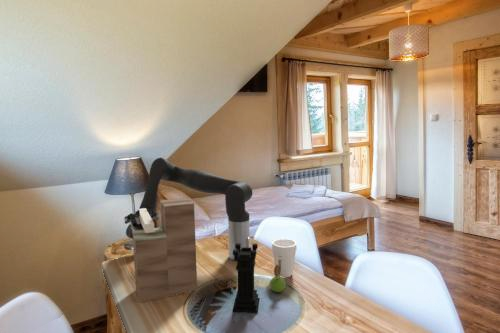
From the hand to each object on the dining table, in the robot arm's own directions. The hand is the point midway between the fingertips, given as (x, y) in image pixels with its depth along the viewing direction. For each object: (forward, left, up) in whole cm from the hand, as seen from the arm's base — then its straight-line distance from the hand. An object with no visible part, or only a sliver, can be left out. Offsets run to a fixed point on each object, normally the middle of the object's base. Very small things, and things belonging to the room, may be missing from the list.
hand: (143, 212), depth 132 cm
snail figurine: (-51, +6, -27) cm, 58 cm away
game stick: (-3, +5, -3) cm, 6 cm away
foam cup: (-53, -7, -27) cm, 60 cm away
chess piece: (-41, +17, -27) cm, 52 cm away
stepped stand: (-11, +9, -26) cm, 30 cm away
